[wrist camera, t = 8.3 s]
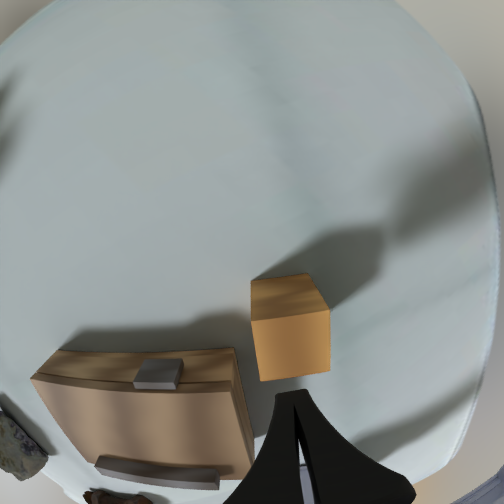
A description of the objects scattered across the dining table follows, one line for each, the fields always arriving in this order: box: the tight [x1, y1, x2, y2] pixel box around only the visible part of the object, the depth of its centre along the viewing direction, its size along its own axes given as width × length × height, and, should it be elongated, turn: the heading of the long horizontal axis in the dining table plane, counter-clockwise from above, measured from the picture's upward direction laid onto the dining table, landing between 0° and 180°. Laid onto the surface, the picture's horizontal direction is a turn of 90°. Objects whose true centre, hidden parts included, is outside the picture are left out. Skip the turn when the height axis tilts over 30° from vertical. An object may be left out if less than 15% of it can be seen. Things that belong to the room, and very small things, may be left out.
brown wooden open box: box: [36, 347, 255, 463], centre depth 20 cm, size 18×12×4 cm, turn 98°
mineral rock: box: [0, 411, 49, 481], centre depth 21 cm, size 13×11×10 cm
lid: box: [30, 358, 253, 490], centre depth 18 cm, size 18×13×5 cm
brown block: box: [251, 273, 330, 381], centre depth 17 cm, size 4×4×6 cm
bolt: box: [83, 490, 153, 504], centre depth 27 cm, size 6×5×15 cm
